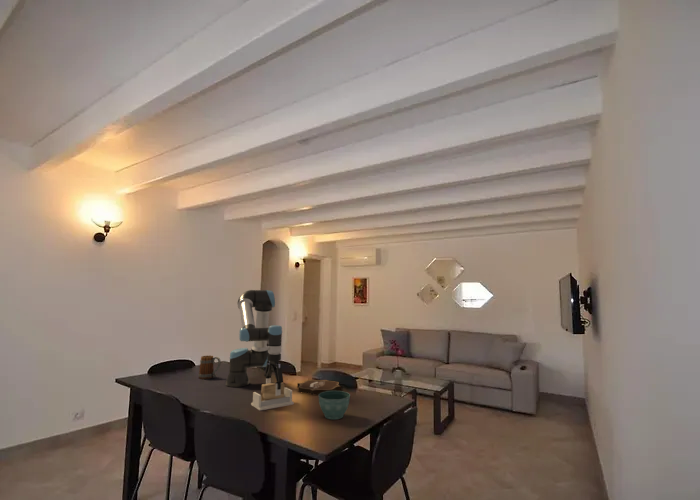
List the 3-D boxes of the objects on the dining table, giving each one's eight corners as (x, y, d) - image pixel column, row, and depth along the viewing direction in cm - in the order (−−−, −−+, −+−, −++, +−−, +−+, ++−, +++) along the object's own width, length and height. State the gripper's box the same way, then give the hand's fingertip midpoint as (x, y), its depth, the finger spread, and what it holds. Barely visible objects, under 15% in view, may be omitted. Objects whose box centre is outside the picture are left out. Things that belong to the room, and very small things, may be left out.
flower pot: (324, 424, 179) (324, 400, 180) (313, 413, 193) (314, 392, 195) (354, 420, 185) (355, 397, 186) (342, 410, 200) (342, 389, 201)
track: (251, 404, 207) (251, 391, 208) (283, 399, 219) (284, 386, 219) (259, 410, 197) (260, 396, 198) (293, 404, 209) (293, 391, 210)
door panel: (260, 403, 206) (261, 384, 207) (280, 399, 213) (281, 381, 214) (263, 405, 203) (264, 386, 204) (283, 401, 210) (284, 383, 211)
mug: (195, 378, 266) (196, 357, 268) (203, 375, 276) (204, 354, 278) (215, 380, 263) (216, 358, 265) (222, 376, 274) (224, 355, 275)
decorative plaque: (304, 378, 261) (346, 380, 255) (304, 382, 261) (346, 385, 255) (289, 388, 232) (336, 392, 226) (289, 393, 232) (335, 397, 226)
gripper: (259, 350, 219) (257, 388, 216) (277, 357, 199) (276, 398, 197) (271, 349, 223) (269, 387, 221) (290, 355, 204) (289, 396, 201)
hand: (272, 392), depth 209 cm, fingers open, 12 cm apart
